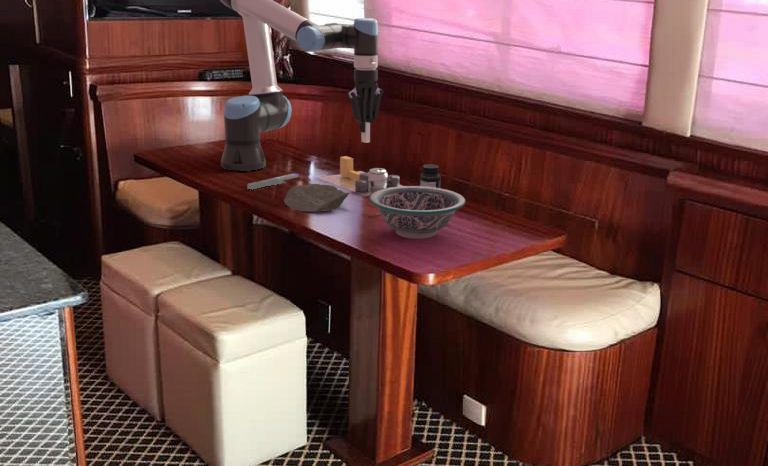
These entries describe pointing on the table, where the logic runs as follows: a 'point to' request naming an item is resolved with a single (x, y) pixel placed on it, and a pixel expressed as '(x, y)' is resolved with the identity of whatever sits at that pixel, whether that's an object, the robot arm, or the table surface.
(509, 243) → the table surface
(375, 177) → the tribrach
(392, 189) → the bowl
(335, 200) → the stone
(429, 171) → the pill bottle
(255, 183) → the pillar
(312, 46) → the robot arm
